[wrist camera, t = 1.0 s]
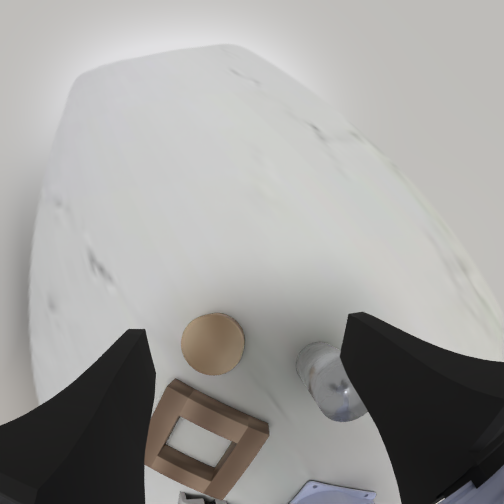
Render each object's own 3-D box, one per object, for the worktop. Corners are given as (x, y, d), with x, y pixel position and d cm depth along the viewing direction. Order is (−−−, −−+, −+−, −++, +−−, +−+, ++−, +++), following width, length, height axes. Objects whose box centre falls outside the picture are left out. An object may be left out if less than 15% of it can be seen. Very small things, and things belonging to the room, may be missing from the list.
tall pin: (346, 352, 23) (390, 373, 14) (326, 390, 23) (359, 428, 14) (308, 335, 24) (338, 351, 15) (288, 374, 23) (305, 410, 14)
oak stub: (254, 328, 24) (254, 332, 20) (229, 374, 23) (225, 385, 20) (205, 303, 24) (197, 303, 21) (182, 349, 24) (171, 356, 20)
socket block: (268, 423, 22) (269, 435, 20) (224, 486, 21) (222, 500, 18) (175, 378, 23) (167, 386, 20) (141, 446, 21) (132, 457, 19)
